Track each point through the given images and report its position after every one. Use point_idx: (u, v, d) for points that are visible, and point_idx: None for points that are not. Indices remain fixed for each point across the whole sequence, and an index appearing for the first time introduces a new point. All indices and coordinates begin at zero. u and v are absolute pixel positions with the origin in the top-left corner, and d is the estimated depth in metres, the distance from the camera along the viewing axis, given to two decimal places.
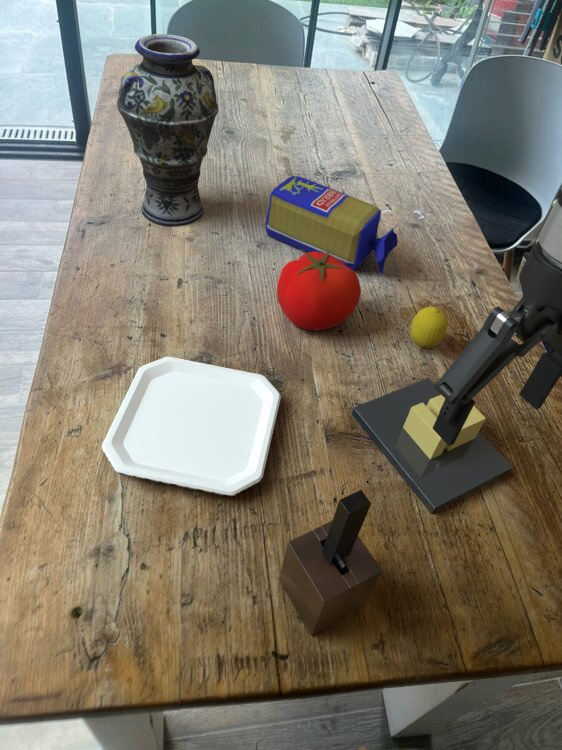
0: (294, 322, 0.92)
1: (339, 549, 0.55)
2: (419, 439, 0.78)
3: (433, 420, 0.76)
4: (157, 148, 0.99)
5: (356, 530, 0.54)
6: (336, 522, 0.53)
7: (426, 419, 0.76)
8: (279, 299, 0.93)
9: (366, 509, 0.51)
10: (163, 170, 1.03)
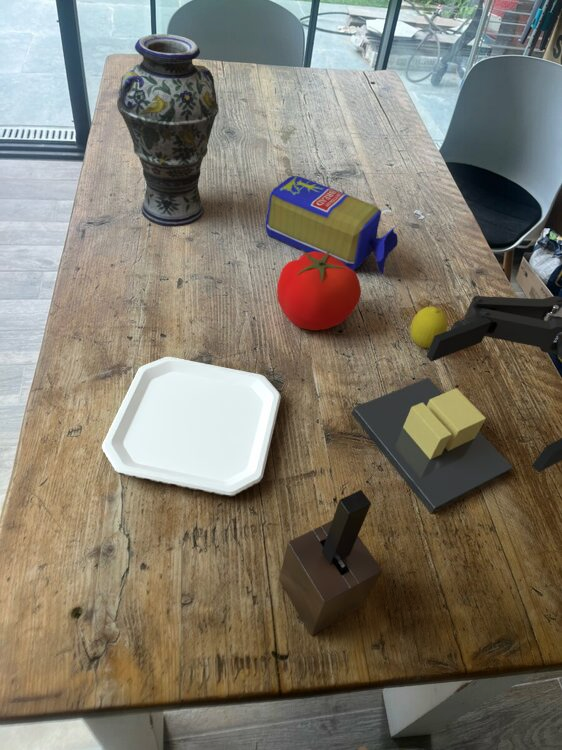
0: (294, 322, 0.92)
1: (339, 549, 0.55)
2: (419, 439, 0.78)
3: (433, 420, 0.76)
4: (157, 148, 0.99)
5: (356, 530, 0.54)
6: (336, 522, 0.53)
7: (426, 419, 0.76)
8: (279, 299, 0.93)
9: (366, 509, 0.51)
10: (163, 170, 1.03)
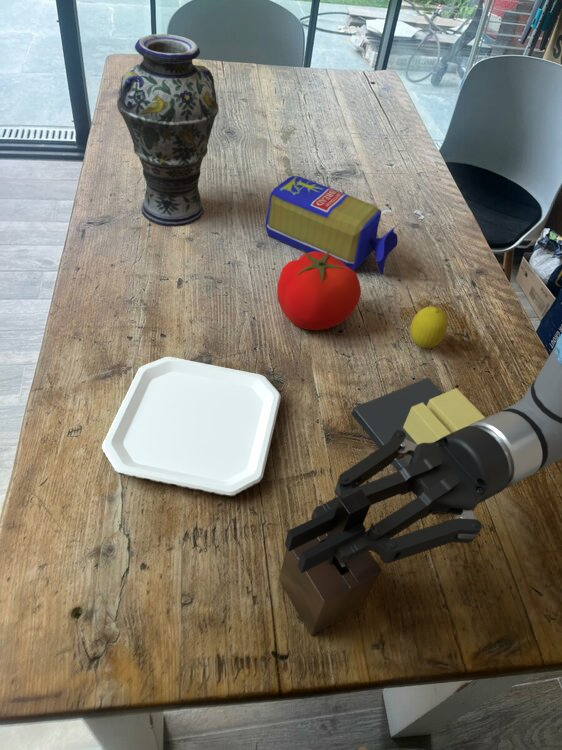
0: (294, 322, 0.92)
1: None
2: (419, 439, 0.78)
3: (433, 420, 0.76)
4: (157, 148, 0.99)
5: None
6: (336, 522, 0.53)
7: (426, 419, 0.76)
8: (279, 299, 0.93)
9: (366, 508, 0.51)
10: (163, 170, 1.03)
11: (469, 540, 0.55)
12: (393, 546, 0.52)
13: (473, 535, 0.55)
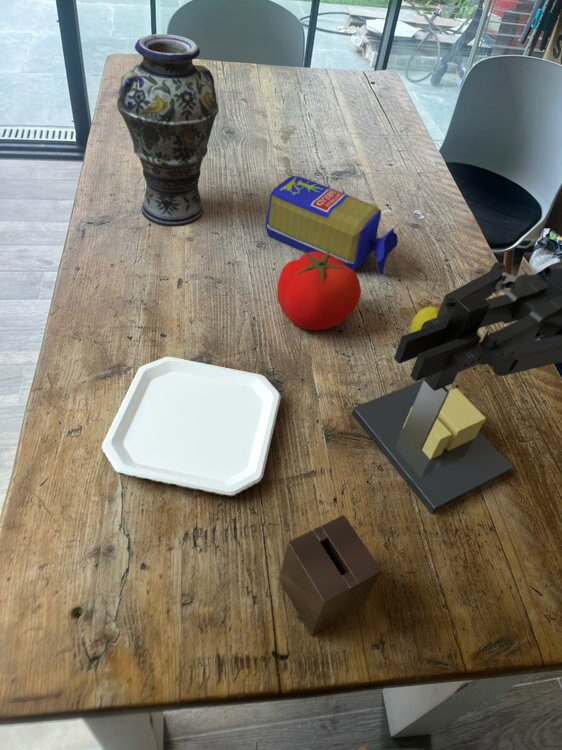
0: (294, 322, 0.92)
1: None
2: None
3: None
4: (157, 148, 0.99)
5: None
6: (449, 331, 0.51)
7: None
8: (279, 299, 0.93)
9: (484, 311, 0.49)
10: (163, 170, 1.03)
11: None
12: (511, 352, 0.50)
13: None
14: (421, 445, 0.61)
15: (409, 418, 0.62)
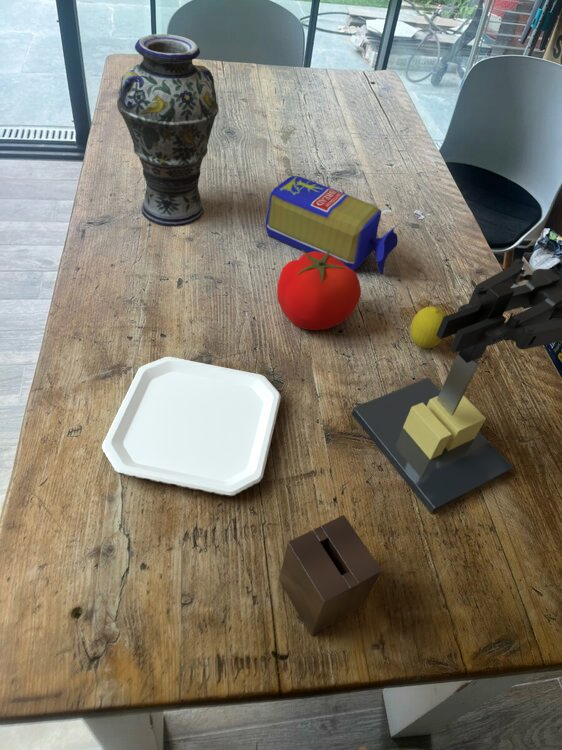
0: (294, 322, 0.92)
1: (479, 343, 0.66)
2: (419, 439, 0.78)
3: (433, 420, 0.76)
4: (157, 148, 0.99)
5: None
6: (481, 313, 0.63)
7: (426, 419, 0.76)
8: (279, 299, 0.93)
9: (510, 296, 0.62)
10: (163, 170, 1.03)
11: None
12: (531, 330, 0.62)
13: None
14: (453, 410, 0.74)
15: (443, 388, 0.74)
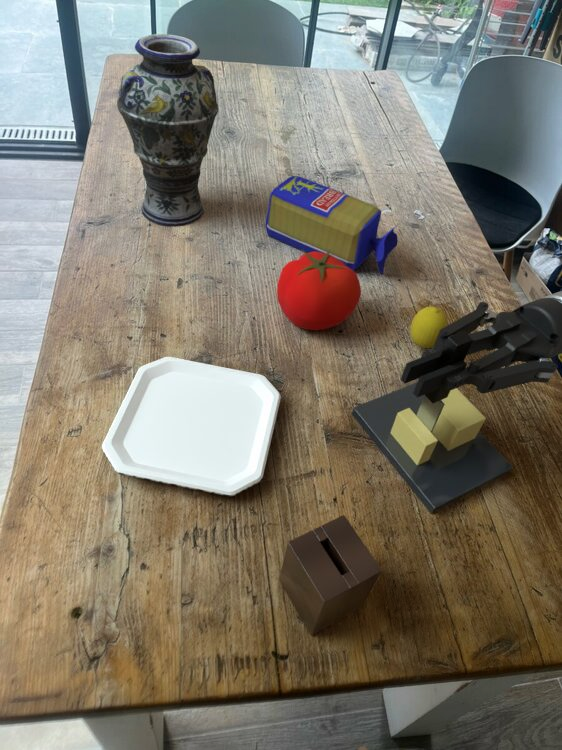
0: (294, 322, 0.92)
1: None
2: (406, 445, 0.77)
3: (419, 426, 0.75)
4: (157, 148, 0.99)
5: None
6: (443, 359, 0.66)
7: (412, 425, 0.75)
8: (279, 299, 0.93)
9: (469, 344, 0.65)
10: (163, 170, 1.03)
11: (546, 379, 0.69)
12: (490, 375, 0.65)
13: (550, 374, 0.68)
14: None
15: None
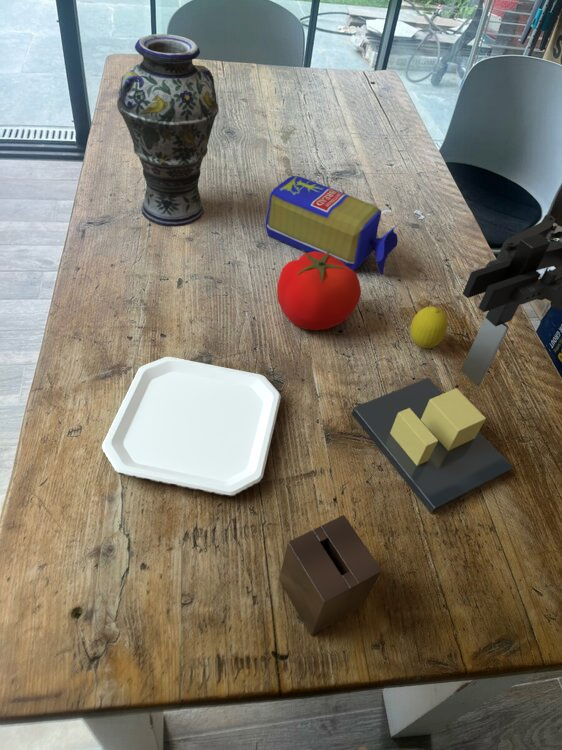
0: (294, 322, 0.92)
1: (509, 303, 0.60)
2: (406, 445, 0.77)
3: (420, 426, 0.75)
4: (157, 148, 0.99)
5: None
6: (512, 268, 0.57)
7: (412, 425, 0.75)
8: (279, 299, 0.93)
9: (544, 248, 0.55)
10: (163, 170, 1.03)
11: None
12: None
13: None
14: (479, 381, 0.68)
15: (468, 357, 0.68)
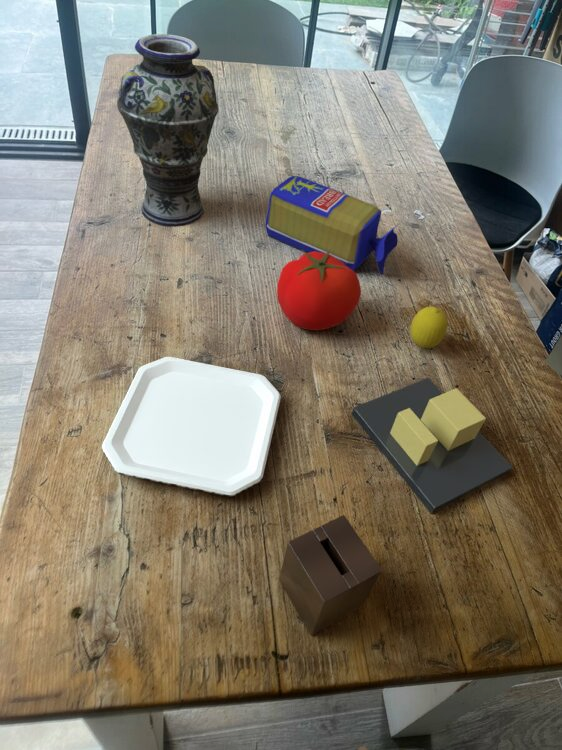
0: (294, 322, 0.92)
1: None
2: (406, 445, 0.77)
3: (420, 426, 0.75)
4: (157, 148, 0.99)
5: None
6: None
7: (412, 425, 0.75)
8: (279, 299, 0.93)
9: None
10: (163, 170, 1.03)
11: None
12: None
13: None
14: None
15: (555, 348, 0.68)
